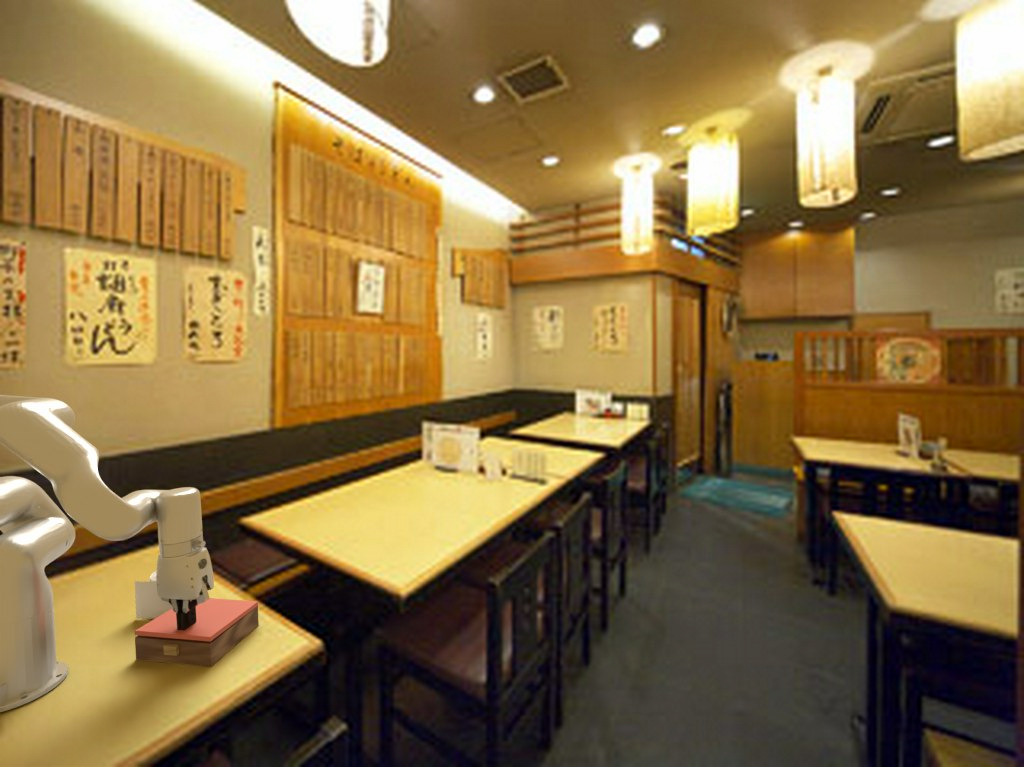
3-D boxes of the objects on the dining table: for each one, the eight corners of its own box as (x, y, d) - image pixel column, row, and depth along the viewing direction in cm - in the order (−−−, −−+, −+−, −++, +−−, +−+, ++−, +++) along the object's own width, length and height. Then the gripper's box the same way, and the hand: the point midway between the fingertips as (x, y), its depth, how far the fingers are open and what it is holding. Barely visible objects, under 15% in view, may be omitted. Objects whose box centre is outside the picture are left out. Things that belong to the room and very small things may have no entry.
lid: (210, 641, 88) (210, 636, 88) (135, 635, 90) (134, 630, 90) (258, 605, 102) (258, 601, 102) (191, 600, 104) (191, 596, 104)
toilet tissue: (212, 599, 114) (211, 563, 113) (165, 625, 102) (164, 586, 101) (182, 593, 116) (181, 558, 116) (134, 618, 105) (132, 580, 104)
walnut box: (208, 668, 88) (208, 645, 87) (133, 661, 90) (132, 639, 89) (258, 625, 102) (258, 605, 102) (192, 620, 104) (191, 600, 104)
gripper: (226, 539, 94) (231, 617, 95) (167, 537, 95) (172, 614, 96) (197, 554, 86) (203, 639, 87) (134, 552, 88) (140, 635, 89)
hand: (187, 626), depth 92 cm, fingers closed
